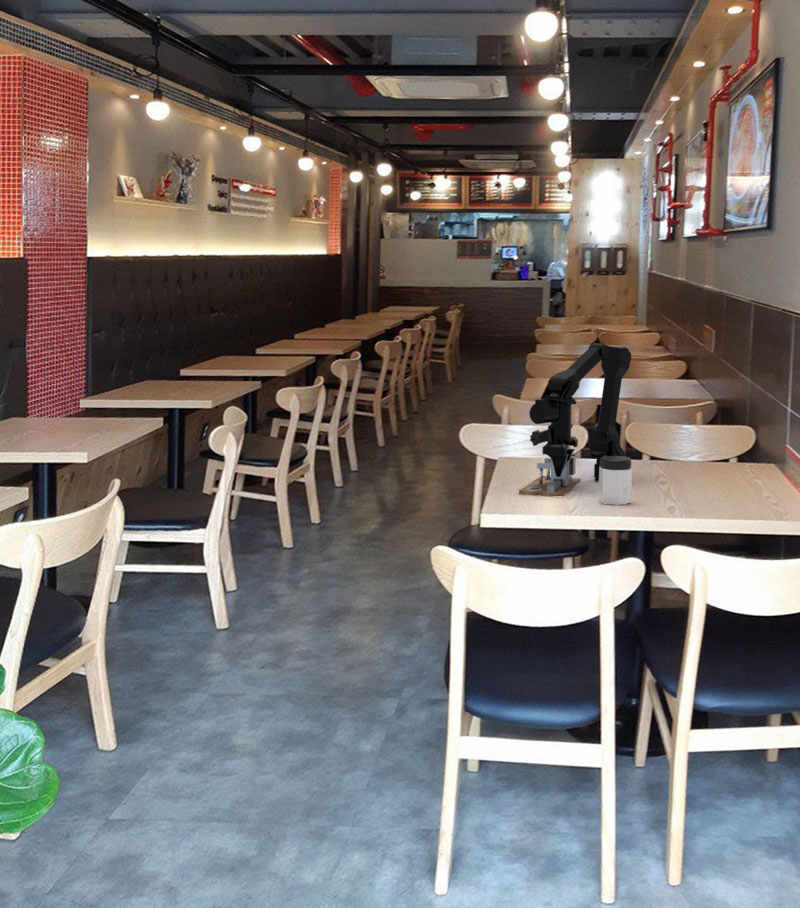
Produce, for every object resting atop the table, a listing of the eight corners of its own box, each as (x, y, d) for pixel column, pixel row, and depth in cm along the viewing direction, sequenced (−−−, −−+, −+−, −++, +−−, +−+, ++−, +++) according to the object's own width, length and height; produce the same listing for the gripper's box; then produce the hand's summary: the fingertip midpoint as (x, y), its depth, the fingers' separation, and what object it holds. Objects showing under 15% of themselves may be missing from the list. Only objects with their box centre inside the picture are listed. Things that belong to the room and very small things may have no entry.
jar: (613, 506, 307) (614, 461, 305) (591, 501, 314) (593, 457, 312) (637, 502, 312) (639, 458, 310) (616, 497, 318) (617, 454, 317)
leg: (568, 484, 332) (569, 459, 331) (565, 486, 328) (566, 462, 327) (539, 482, 335) (539, 458, 334) (535, 484, 331) (536, 460, 330)
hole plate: (580, 481, 343) (580, 477, 343) (561, 497, 320) (561, 492, 320) (540, 479, 347) (540, 475, 347) (519, 494, 324) (519, 490, 324)
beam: (576, 479, 341) (576, 455, 340) (558, 493, 320) (559, 468, 319) (546, 477, 344) (547, 454, 343) (527, 491, 323) (528, 466, 322)
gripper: (541, 415, 339) (540, 468, 342) (524, 423, 322) (524, 479, 325) (578, 417, 335) (577, 470, 338) (564, 425, 318) (563, 481, 321)
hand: (559, 475), depth 330 cm, fingers closed on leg, 4 cm apart
